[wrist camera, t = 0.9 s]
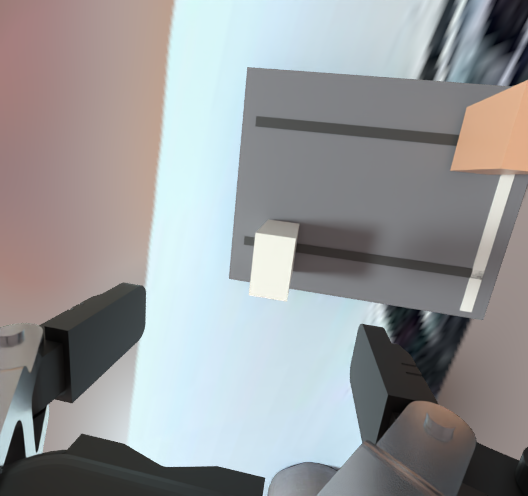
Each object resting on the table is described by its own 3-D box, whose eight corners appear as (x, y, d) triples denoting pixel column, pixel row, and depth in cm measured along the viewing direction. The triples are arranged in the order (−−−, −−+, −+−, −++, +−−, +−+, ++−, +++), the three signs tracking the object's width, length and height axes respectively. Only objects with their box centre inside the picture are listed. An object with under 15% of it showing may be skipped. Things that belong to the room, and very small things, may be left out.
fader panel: (234, 271, 27) (228, 279, 25) (252, 76, 23) (247, 66, 21) (469, 308, 24) (483, 320, 22) (535, 98, 20) (559, 89, 18)
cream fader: (262, 268, 24) (248, 295, 18) (268, 219, 23) (255, 232, 17) (292, 272, 24) (286, 301, 18) (299, 223, 23) (295, 238, 17)
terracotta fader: (450, 170, 20) (500, 168, 15) (466, 107, 19) (527, 80, 14) (488, 174, 20) (553, 174, 15) (506, 110, 19) (584, 84, 14)
